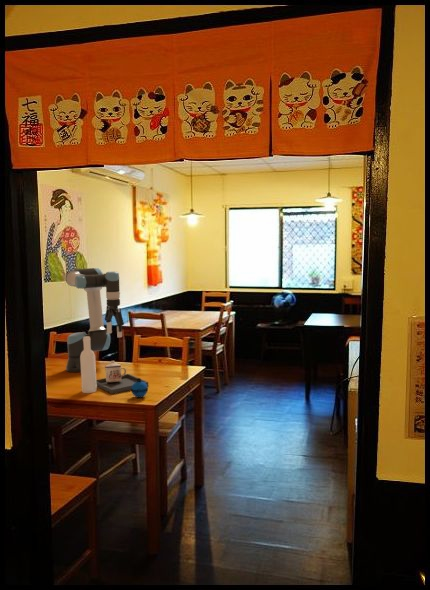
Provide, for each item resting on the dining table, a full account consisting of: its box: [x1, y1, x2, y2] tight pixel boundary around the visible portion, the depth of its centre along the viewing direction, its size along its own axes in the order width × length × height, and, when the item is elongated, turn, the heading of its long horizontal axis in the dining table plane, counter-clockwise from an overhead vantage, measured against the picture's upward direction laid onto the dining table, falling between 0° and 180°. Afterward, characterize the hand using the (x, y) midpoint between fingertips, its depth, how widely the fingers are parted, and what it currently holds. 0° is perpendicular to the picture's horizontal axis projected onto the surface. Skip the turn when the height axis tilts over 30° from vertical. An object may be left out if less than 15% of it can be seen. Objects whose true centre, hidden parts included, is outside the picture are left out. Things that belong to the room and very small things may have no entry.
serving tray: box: [96, 373, 149, 395], centre depth 281 cm, size 24×22×2 cm
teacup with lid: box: [104, 360, 127, 382], centre depth 286 cm, size 12×9×12 cm
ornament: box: [130, 377, 149, 398], centre depth 259 cm, size 9×9×10 cm
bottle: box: [80, 336, 98, 394], centre depth 270 cm, size 8×8×30 cm
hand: (114, 335), depth 289 cm, fingers open, 13 cm apart
